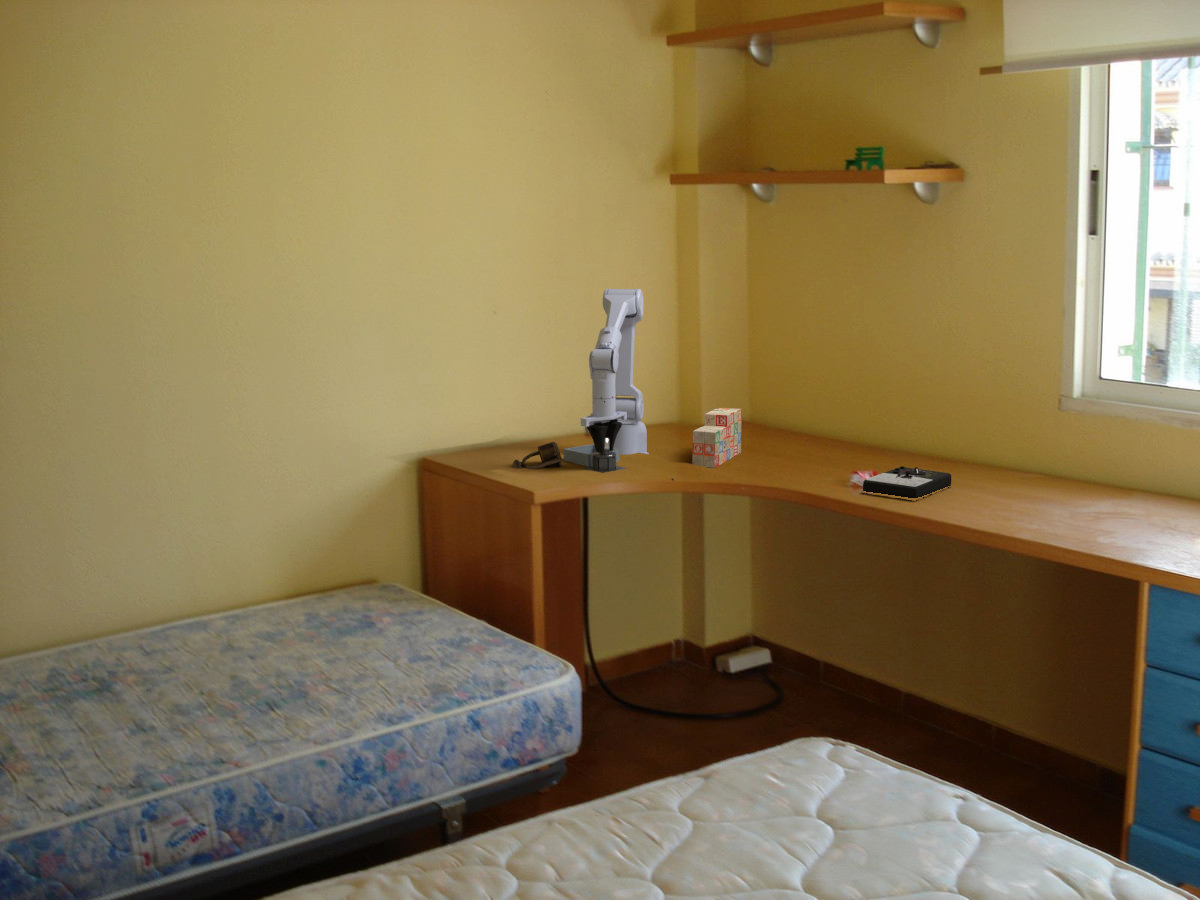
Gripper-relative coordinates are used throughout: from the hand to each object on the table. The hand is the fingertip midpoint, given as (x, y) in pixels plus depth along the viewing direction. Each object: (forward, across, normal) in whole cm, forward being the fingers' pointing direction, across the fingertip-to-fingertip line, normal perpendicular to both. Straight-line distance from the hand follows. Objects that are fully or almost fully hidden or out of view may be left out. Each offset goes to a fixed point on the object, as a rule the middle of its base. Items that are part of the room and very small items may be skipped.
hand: (604, 451), depth 306 cm
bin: (+5, -5, -9) cm, 11 cm away
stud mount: (+5, 0, 0) cm, 5 cm away
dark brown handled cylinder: (+6, +8, -15) cm, 18 cm away
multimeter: (+6, -32, +66) cm, 74 cm away
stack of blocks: (+6, -31, +11) cm, 34 cm away
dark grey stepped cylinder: (+4, 0, 0) cm, 4 cm away
